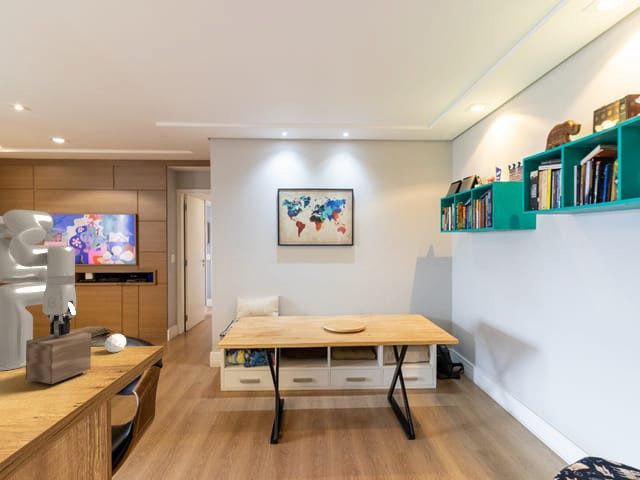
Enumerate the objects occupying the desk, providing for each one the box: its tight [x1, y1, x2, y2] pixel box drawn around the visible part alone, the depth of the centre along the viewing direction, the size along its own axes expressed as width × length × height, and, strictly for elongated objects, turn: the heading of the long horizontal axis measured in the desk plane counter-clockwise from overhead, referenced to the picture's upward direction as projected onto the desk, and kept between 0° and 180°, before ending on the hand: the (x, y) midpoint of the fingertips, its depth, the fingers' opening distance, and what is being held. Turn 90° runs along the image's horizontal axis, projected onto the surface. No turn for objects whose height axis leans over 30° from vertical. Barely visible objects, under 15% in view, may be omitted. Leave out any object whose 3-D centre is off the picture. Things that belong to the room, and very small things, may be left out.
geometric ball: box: [104, 333, 127, 354], centre depth 132 cm, size 8×8×8 cm
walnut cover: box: [25, 320, 92, 385], centre depth 106 cm, size 12×12×18 cm
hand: (60, 333), depth 106 cm, fingers closed on walnut cover, 3 cm apart
